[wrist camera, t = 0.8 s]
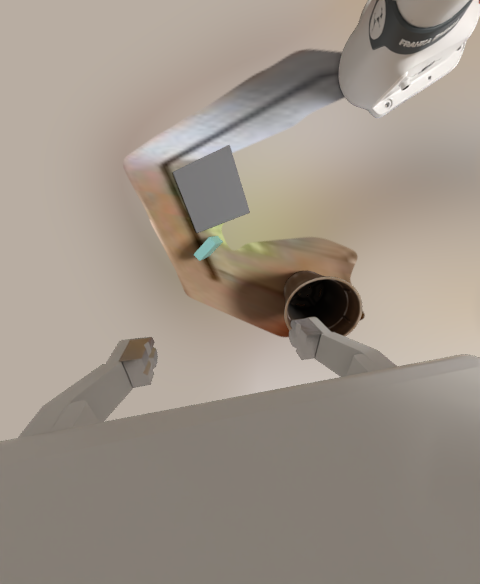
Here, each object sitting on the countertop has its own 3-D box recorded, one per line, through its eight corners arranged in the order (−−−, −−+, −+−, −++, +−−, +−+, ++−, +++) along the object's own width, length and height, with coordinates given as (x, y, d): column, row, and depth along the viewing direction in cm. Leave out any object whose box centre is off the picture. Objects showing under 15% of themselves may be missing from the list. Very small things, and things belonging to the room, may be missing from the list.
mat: (229, 146, 43) (229, 144, 43) (249, 212, 48) (249, 212, 47) (173, 172, 47) (172, 172, 46) (197, 232, 51) (196, 232, 51)
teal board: (222, 241, 51) (215, 243, 43) (209, 256, 53) (199, 260, 45) (217, 236, 51) (209, 237, 42) (203, 250, 53) (193, 254, 44)
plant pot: (335, 261, 50) (369, 275, 35) (330, 313, 55) (357, 344, 40) (277, 264, 52) (284, 278, 37) (277, 314, 57) (283, 344, 42)
